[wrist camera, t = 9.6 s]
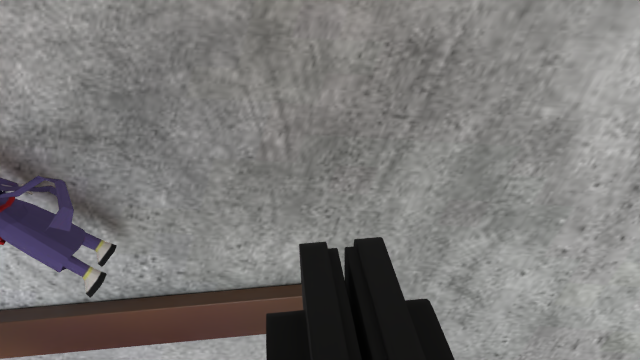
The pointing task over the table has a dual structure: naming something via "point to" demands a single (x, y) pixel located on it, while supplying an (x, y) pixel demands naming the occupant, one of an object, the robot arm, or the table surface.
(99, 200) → the table surface
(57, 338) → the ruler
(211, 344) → the table surface
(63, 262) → the figurine
